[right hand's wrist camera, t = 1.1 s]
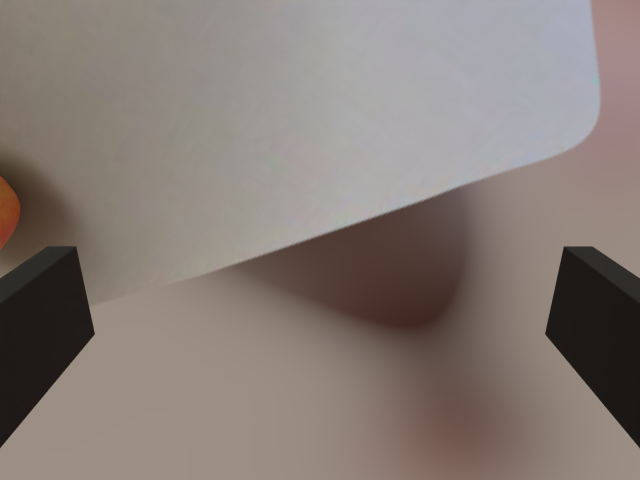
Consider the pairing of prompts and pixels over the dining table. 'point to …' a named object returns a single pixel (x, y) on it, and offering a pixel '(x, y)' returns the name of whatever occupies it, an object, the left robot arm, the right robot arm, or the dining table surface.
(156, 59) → the dining table surface
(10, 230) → the apple
